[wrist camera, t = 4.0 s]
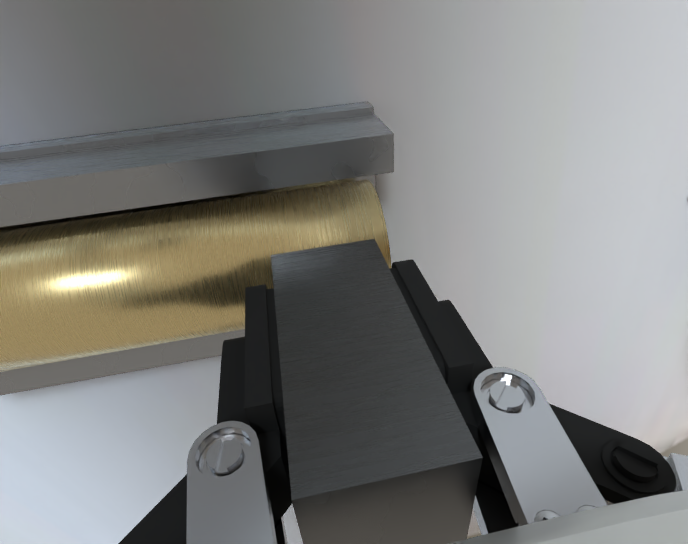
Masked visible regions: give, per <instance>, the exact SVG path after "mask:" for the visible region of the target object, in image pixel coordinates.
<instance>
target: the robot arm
mask: <svg viewBox="0 0 688 544" xmlns="http://www.w3.org/2000/svg"><path fill="white" fill-rule="evenodd" d="M389 269H390V271H391V273H392V275H393V277H394V279H395V281H396V283H397V285H398V287H399V289H400V291H401V293H402V295H403V297H404V299H405V301H406V303H407V305H408V307H409V309H410V311H411V313H412V315H413V317H414V319H415V321H416V323H417V325H418V327H419V330H420V332H421V334H422V336H423V338H424V340H425V342H426V344H427V346H428V348H429V350H430V352H431V354H432V356H433V358H434V360H435V362H436V364H437V366H438V368H439V370H440V372H441V374H442V376H443V378H444V380H445V382H446V384H447V386H448V388H449V390H450V392H451V394H452V396H453V398H454V400H455V402H456V404H457V406H458V408H459V410H460V413H461V415H462V417H463V419H464V421H465V423H466V425H467V427H468V429H469V431H470V433H471V435H472V437H473V439H474V441H475V443H476V445H477V447H478V449H479V451H480V453H481V455H482V457H483V459H482V464H481V469H480V474H479V479H478V484H477V489H476V494H475V499H474V504H473V509H474V513H475V516H476V519H477V522H478V525H479V528H480V531H481V534H482V535H481V536H477V537H473V538H469V539H465V540H461V541H457V542H453V543H449V544H688V456H684V455H680V454H675V453H671V454H670V456H669V457H664V456H662V455H661V454H660V453H659V452H657V451H656V450H655V449H653V448H652V447H651V446H650V445H648V444H646V443H644V442H642V441H640V440H638V439H636V438H633V437H631V436H628V435H626V434H623V433H621V432H618V431H616V430H613V429H611V428H608V427H606V426H603V425H601V424H598V423H596V422H594V421H591V420H589V419H586V418H584V417H581V416H579V415H576V414H574V413H571V412H569V411H566V410H564V409H561V408H559V407H556V406H554V405H551V404H549V403H548V402H547V400H546V398H545V396H544V395H543V393H542V391H541V389H540V388H539V387H538V385H537V384H536V383H535V382H534V380H532V379H531V378H530V377H528V376H527V375H526V374H524V373H522V372H519V371H517V370H515V369H510V368H506V367H495V368H493V367H492V365H491V364H490V362H489V361H488V359H487V357H486V356H485V354H484V353H483V351H482V350H481V348H480V346H479V345H478V343H477V342H476V340H475V338H474V337H473V335H472V334H471V332H470V331H469V329H468V327H467V326H466V324H465V323H464V321H463V320H462V318H461V316H460V315H459V313H458V312H457V310H456V309H455V307H454V305H453V304H452V303H451V302H450V301H449V300H444V301H439V302H438V301H437V299H436V297H435V296H434V294H433V292H432V290H431V289H430V287H429V285H428V284H427V282H426V280H425V279H424V277H423V275H422V274H421V272H420V270H419V269H418V267H417V265H416V264H415V262H414V261H413V260H406V261H400V262H394V263H392V268H389ZM291 504H292V498H291V487H290V475H289V463H288V451H287V439H286V428H285V416H284V404H283V392H282V380H281V369H280V357H279V345H278V333H277V321H276V310H275V298H274V288H271V289H267V286H266V284H263V285H257V286H251V287H246V288H245V337H240V338H234V339H228V340H224V342H223V346H222V359H221V373H220V388H219V402H218V417H217V424H216V425H214V426H212V427H210V428H209V429H207V430H206V431H204V432H203V433H202V434H201V435H200V436H199V437H198V438H197V439H196V440H195V442H194V443H193V445H192V447H191V449H190V451H189V455H188V460H187V475H186V476H185V477H184V478H183V479H182V480H181V481H180V482H179V483H178V484H177V485H176V486H175V487H174V488H173V489H172V490H171V491H170V492H169V493H168V494H167V495H166V496H165V497H164V498H163V499H162V500H161V501H160V502H159V503H158V504H157V505H156V506H155V507H154V508H153V509H152V510H151V511H150V512H149V513H148V514H147V515H146V516H145V517H144V518H143V519H142V520H141V521H140V522H139V523H138V524H137V525H136V526H135V527H134V528H133V529H132V531H131V532H130V533H129V534H128V535H127V536H126V537H125V538H124V539H123V540H122V541H121V542H120V543H119V544H287V538H286V532H285V526H284V521H283V515H284V513H285V512H286V511H287V509H288V508H289V507H290V505H291Z"/></svg>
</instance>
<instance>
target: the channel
mask: <svg viewBox="0 0 688 544" xmlns="http://www.w3.org/2000/svg"><path fill="white" fill-rule="evenodd" d="M390 172H394V143H393V133H392V132H391V131H390V130H389V129H388V128H387V127H386V126H385V125H384V123H383V122H382V121H381V120H380V119H379V118H378V117H377V116H376V115H375V114H374V113H373V106H372V105H371V104H370V103H369V102H362V103H354V104H345V105H337V106H329V107H320V108H312V109H304V110H296V111H287V112H279V113H271V114H262V115H254V116H246V117H237V118H229V119H221V120H213V121H204V122H196V123H188V124H179V125H171V126H163V127H154V128H146V129H138V130H130V131H121V132H113V133H105V134H96V135H88V136H80V137H71V138H63V139H55V140H47V141H38V142H30V143H22V144H13V145H5V146H0V231H5V230H12V229H19V228H26V227H33V226H40V225H47V224H54V223H61V222H68V221H75V220H83V219H90V218H97V217H104V216H111V215H118V214H125V213H132V212H139V211H146V210H153V209H161V208H168V207H175V206H182V205H189V204H196V203H203V202H210V201H217V200H224V199H231V198H238V197H246V196H253V195H260V194H267V193H274V192H281V191H288V190H295V189H302V188H309V187H316V186H323V185H331V184H338V183H345V182H352V181H359V180H366V179H367V180H369V181H371V183H372V184H373V186H374V188H375V190H376V180H375V175H376V174H383V173H390ZM240 337H245V329H242V330H237V331H231V332H225V333H220V334H214V335H208V336H202V337H197V338H191V339H185V340H180V341H174V342H168V343H162V344H157V345H151V346H145V347H140V348H134V349H128V350H123V351H117V352H111V353H105V354H100V355H94V356H88V357H83V358H77V359H71V360H65V361H60V362H54V363H48V364H43V365H37V366H31V367H26V368H20V369H14V370H8V371H3V372H0V395H5V394H10V393H16V392H21V391H27V390H32V389H38V388H43V387H49V386H54V385H60V384H65V383H71V382H76V381H82V380H88V379H93V378H99V377H104V376H110V375H115V374H121V373H126V372H132V371H137V370H143V369H148V368H154V367H159V366H165V365H170V364H176V363H182V362H187V361H193V360H198V359H204V358H209V357H215V356H220V355H222V346H223V342H224V340H228V339H234V338H240Z"/></svg>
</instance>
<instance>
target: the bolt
mask: <svg viewBox="0 0 688 544" xmlns="http://www.w3.org/2000/svg"><path fill="white" fill-rule="evenodd" d="M389 268H391V257H390V248H389V241H388V235H387V229H386V224H385V220H384V215H383V211H382V207H381V204H380V201H379V198H378V195H377V192H376V190H375V188H374V186H373V184H372V183H371V181H369V180H367V179H366V180H359V181H352V182H345V183H338V184H331V185H323V186H316V187H309V188H302V189H295V190H288V191H281V192H274V193H267V194H260V195H253V196H246V197H238V198H231V199H224V200H217V201H210V202H203V203H196V204H189V205H182V206H175V207H168V208H161V209H153V210H146V211H139V212H132V213H125V214H118V215H111V216H104V217H97V218H90V219H83V220H75V221H68V222H61V223H54V224H47V225H40V226H33V227H26V228H19V229H12V230H5V231H0V372H3V371H8V370H14V369H20V368H26V367H31V366H37V365H43V364H48V363H54V362H60V361H65V360H71V359H77V358H83V357H88V356H94V355H100V354H105V353H111V352H117V351H123V350H128V349H134V348H140V347H145V346H151V345H157V344H162V343H168V342H174V341H180V340H185V339H191V338H197V337H202V336H208V335H214V334H220V333H225V332H231V331H237V330H242V329H245V288H246V287H251V286H257V285H263V284H266V286H267V289H271V288H274V298H275V310H276V321H277V333H278V345H279V357H280V369H281V380H282V392H283V404H284V416H285V428H286V439H287V451H288V463H289V475H290V487H291V498H292V503H293V507H294V511H295V514H296V518H297V522H298V525H299V529H300V533H301V536H302V540H303V544H449V543H453V542H457V541H461V540H465V539H467V534H468V529H469V524H470V519H471V514H472V509H473V504H474V499H475V494H476V489H477V484H478V479H479V474H480V469H481V464H482V459H483V457H482V455H481V453H480V451H479V449H478V447H477V445H476V443H475V441H474V439H473V437H472V435H471V433H470V431H469V429H468V427H467V425H466V423H465V421H464V419H463V417H462V415H461V413H460V410H459V408H458V406H457V404H456V402H455V400H454V398H453V396H452V394H451V392H450V390H449V388H448V386H447V384H446V382H445V380H444V378H443V376H442V374H441V372H440V370H439V368H438V366H437V364H436V362H435V360H434V358H433V356H432V354H431V352H430V350H429V348H428V346H427V344H426V342H425V340H424V338H423V336H422V334H421V332H420V330H419V327H418V325H417V323H416V321H415V319H414V317H413V315H412V313H411V311H410V309H409V307H408V305H407V303H406V301H405V299H404V297H403V295H402V293H401V291H400V289H399V287H398V285H397V283H396V281H395V279H394V277H393V275H392V273H391V271H390V269H389Z"/></svg>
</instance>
